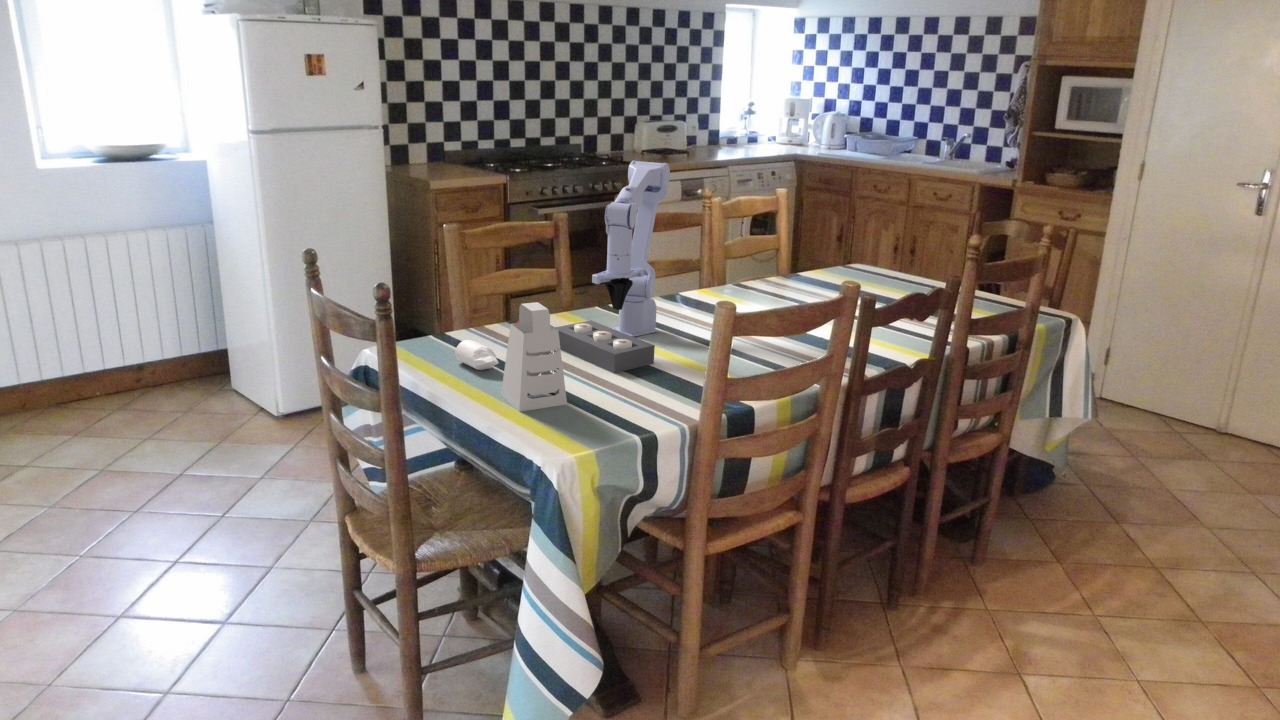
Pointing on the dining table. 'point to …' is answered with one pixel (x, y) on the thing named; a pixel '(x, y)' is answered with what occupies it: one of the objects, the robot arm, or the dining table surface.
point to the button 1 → (582, 328)
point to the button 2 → (622, 344)
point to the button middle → (602, 335)
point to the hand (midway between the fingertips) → (617, 308)
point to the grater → (533, 361)
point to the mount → (605, 348)
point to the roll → (475, 355)
